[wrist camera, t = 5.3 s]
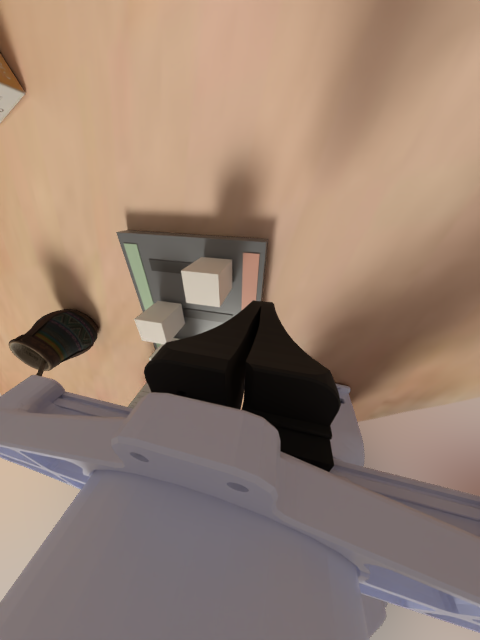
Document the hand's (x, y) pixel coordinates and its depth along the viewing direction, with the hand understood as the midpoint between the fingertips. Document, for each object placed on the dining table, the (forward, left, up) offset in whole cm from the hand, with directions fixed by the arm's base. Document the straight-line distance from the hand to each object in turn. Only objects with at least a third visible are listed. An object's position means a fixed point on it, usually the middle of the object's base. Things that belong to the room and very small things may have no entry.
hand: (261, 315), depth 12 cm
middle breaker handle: (+11, +5, -6) cm, 14 cm away
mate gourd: (+29, +11, -9) cm, 32 cm away
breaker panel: (+8, +5, -8) cm, 13 cm away
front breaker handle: (+5, 0, -6) cm, 8 cm away
